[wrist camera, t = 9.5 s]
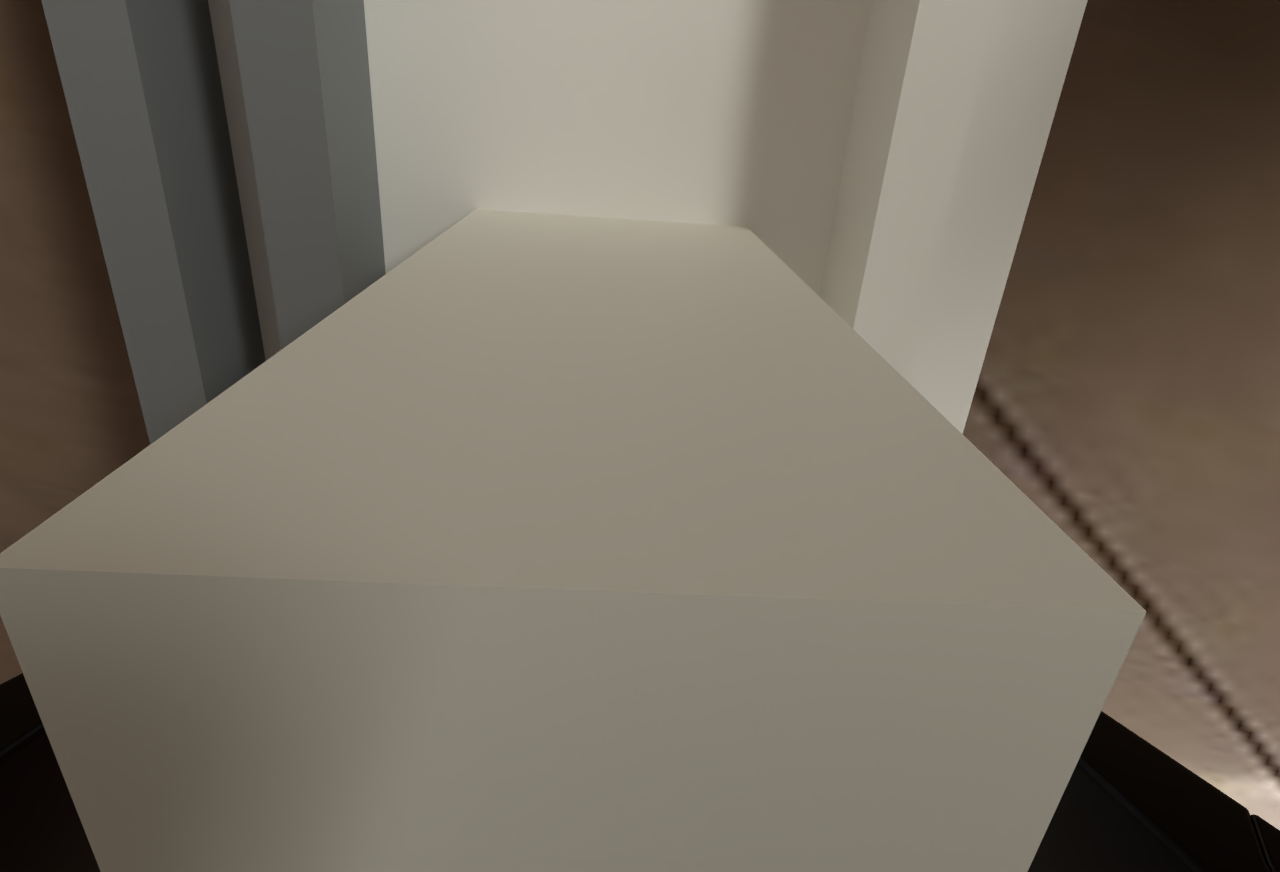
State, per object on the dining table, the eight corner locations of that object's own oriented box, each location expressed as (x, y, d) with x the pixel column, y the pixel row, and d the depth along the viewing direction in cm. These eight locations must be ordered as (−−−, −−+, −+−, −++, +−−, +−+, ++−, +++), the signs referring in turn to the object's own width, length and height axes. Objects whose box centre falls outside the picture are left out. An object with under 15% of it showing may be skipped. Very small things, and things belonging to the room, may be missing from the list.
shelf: (137, -221, 10) (-72, -362, 7) (1071, -129, 11) (1250, -221, 8) (309, 753, 19) (246, 884, 16) (836, 768, 20) (877, 896, 16)
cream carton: (746, 226, 12) (1148, 609, 3) (693, 644, 16) (794, 1382, 7) (466, 208, 12) (-62, 565, 3) (481, 637, 15) (285, 1390, 6)
